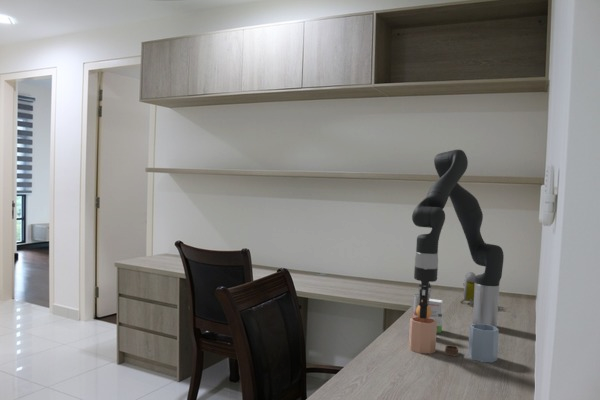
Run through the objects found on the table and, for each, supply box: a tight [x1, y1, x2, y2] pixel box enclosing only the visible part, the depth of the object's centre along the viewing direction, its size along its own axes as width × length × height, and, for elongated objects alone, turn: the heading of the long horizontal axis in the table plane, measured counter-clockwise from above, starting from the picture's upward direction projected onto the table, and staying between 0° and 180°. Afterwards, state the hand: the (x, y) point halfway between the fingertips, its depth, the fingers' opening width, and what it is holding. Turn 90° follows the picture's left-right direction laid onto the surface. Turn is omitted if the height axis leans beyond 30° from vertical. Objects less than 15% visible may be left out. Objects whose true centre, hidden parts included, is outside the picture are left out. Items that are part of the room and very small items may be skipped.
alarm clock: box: [460, 271, 477, 307], centre depth 236 cm, size 12×7×15 cm, turn 162°
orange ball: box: [416, 306, 431, 319], centre depth 166 cm, size 5×5×5 cm
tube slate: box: [467, 323, 500, 364], centre depth 160 cm, size 8×8×10 cm
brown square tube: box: [444, 344, 459, 357], centre depth 163 cm, size 4×4×2 cm
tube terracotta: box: [408, 316, 437, 354], centre depth 166 cm, size 8×8×10 cm
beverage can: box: [412, 293, 420, 317], centre depth 182 cm, size 5×5×15 cm
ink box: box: [428, 298, 444, 334], centre depth 189 cm, size 9×5×12 cm, turn 67°
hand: (423, 315), depth 166 cm, fingers closed on orange ball, 4 cm apart
